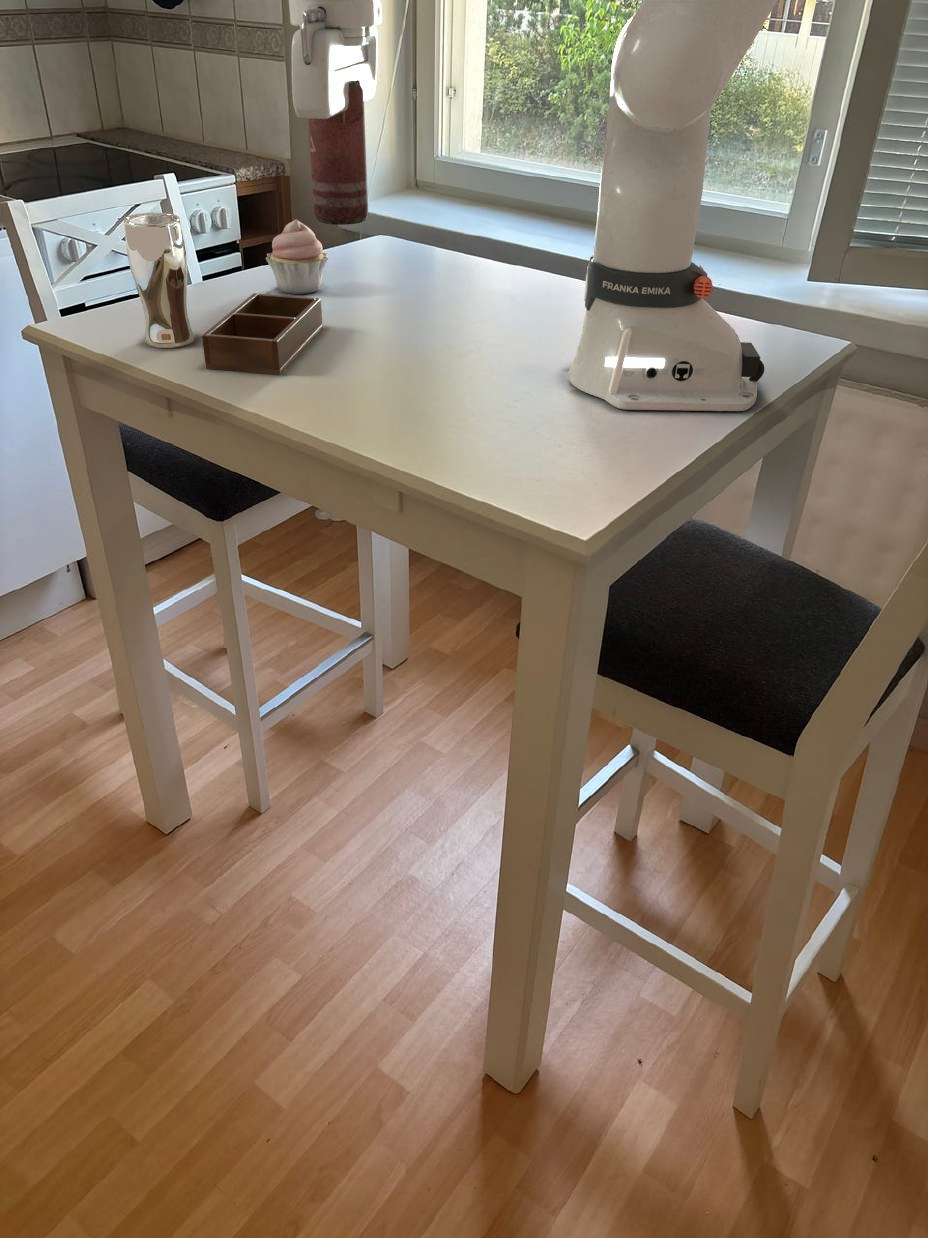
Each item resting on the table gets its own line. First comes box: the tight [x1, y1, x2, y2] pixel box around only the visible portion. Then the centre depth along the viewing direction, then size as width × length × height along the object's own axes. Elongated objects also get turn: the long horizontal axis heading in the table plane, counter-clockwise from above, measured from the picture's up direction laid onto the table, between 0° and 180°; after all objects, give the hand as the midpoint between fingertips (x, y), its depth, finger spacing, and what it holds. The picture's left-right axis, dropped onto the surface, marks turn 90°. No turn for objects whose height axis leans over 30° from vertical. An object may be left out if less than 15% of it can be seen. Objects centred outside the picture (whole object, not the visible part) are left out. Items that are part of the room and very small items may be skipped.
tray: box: [201, 292, 324, 376], centre depth 121 cm, size 9×18×4 cm, turn 171°
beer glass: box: [122, 212, 195, 349], centre depth 119 cm, size 7×7×15 cm
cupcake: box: [265, 219, 329, 295], centre depth 142 cm, size 9×9×10 cm
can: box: [307, 80, 369, 226], centre depth 105 cm, size 6×6×14 cm
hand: (340, 154), depth 105 cm, fingers closed, pressing on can
